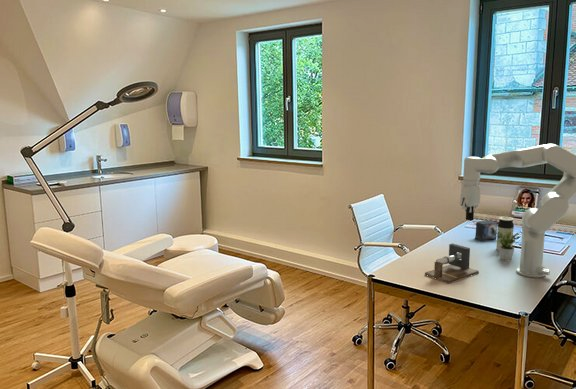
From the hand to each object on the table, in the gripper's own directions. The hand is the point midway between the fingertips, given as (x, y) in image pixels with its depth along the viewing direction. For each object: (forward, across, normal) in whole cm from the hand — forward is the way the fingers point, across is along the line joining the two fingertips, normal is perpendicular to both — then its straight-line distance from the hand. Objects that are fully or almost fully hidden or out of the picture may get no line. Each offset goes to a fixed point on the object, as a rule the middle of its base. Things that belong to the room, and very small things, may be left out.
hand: (469, 219), depth 237 cm
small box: (+25, -53, -26) cm, 64 cm away
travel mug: (+25, -42, -7) cm, 49 cm away
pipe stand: (+25, +12, 0) cm, 28 cm away
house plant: (+25, -28, +4) cm, 38 cm away
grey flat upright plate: (+22, +7, 0) cm, 23 cm away
